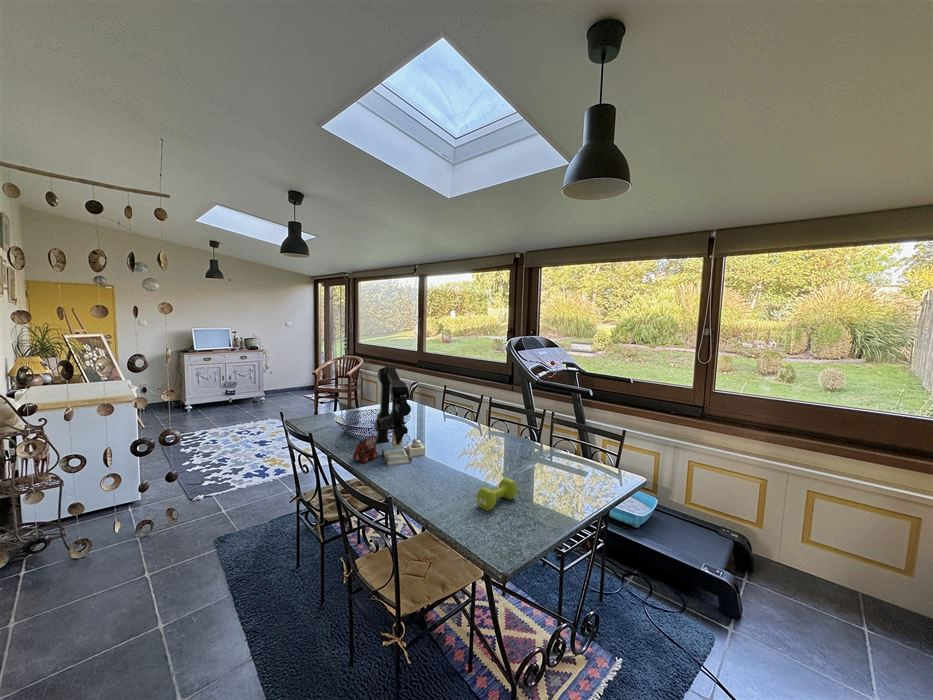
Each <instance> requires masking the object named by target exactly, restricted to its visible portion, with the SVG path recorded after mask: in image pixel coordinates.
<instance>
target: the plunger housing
mask: <svg viewBox="0 0 933 700" xmlns="http://www.w3.org/2000/svg"><path fill="white" fill-rule="evenodd" d="M406 448H407V455H411V457H417V456H425V455H426V447H425V446H424V444H423V443H422V442H420V447H419V448H412V443H407V444H406Z"/></svg>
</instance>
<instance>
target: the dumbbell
mask: <svg viewBox="0 0 933 700" xmlns="http://www.w3.org/2000/svg"><path fill="white" fill-rule="evenodd" d="M517 494H518V487H517V485H516V483H515V481H514V480H513V479H512V478H509V477H504V478H502V479H501V480H500V482H499V484H498V487H497V488H496V489H494V490H492V489H491V488H488V487H485V486H484V487H482V488H480V489H479V491H478V492H477V494H476V500H477V503H478V506H479V508H481V509H483V510H484V511H487V512H490V511H491V510H493V509H494V507H495V506H496V504H497V499H500V498H501V497H503V498H504V499H507V500H512V499H514V498H515V497H516V496H517Z"/></svg>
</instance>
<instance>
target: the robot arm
mask: <svg viewBox="0 0 933 700" xmlns="http://www.w3.org/2000/svg"><path fill="white" fill-rule="evenodd" d="M377 378H378V381H379V383H380V406H379V409H380V410H379V412H378V414H377V415H376V419H375V422H374V423H373V429H374V430H375V432H376V436H377V441H376V443H388V442H390V439H389V430H391V432H393V433H394V434H395V437H396V444H397V445H399V444H400V442H401V440H402V441H403V437H404V435H406V434H408V433H409V429H408V426H406V425H405V423H406V422H405V417H407V416H408V415H410V413H411V411H412V407H411V406H410V404H409V403H408V400H410V397H411V394H410V391H409V390H410V389H409V386H407V384H406V383H405V381H403V380H401V377H399V374H398V372H397V368H396V366H395V365H387V366H384V367H382V368H379V369H378V370H377ZM390 396H391V400H392V401H391V402H392V403H391V404H392V405H391V412H390Z"/></svg>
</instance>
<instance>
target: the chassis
mask: <svg viewBox="0 0 933 700" xmlns="http://www.w3.org/2000/svg"><path fill="white" fill-rule="evenodd" d="M381 456H382V457H384V459H383V460H384V461H383V462H384V463H383V464H384V465H387V466H395V465H396V466H397V465H406V464H407V465H409V464H410V463H411V462H412V461H413V460H412V457H413V456H411V455H409V454H408V452H407V447H404V448H403V449H395V450H394V449H392V450H391V449H390V450H386V451H385V449H381Z"/></svg>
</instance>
